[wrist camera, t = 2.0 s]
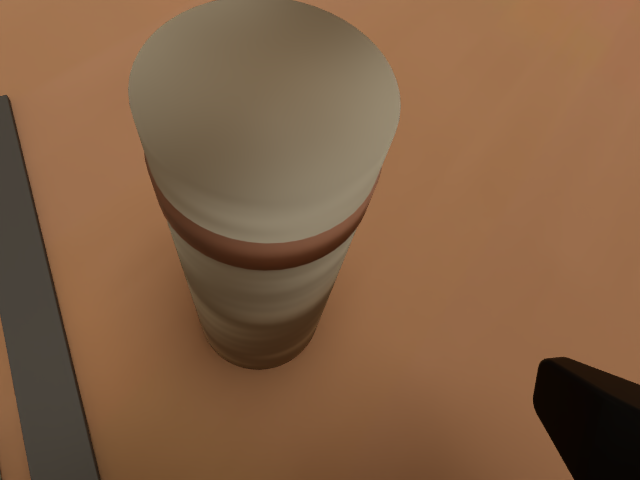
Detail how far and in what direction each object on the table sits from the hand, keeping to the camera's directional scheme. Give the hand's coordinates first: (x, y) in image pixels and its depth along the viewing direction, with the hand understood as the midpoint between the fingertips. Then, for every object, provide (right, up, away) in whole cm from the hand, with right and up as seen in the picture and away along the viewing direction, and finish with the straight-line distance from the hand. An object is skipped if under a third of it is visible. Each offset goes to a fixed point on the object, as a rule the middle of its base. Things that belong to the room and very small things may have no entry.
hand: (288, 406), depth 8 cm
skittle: (-2, 0, +13) cm, 13 cm away
